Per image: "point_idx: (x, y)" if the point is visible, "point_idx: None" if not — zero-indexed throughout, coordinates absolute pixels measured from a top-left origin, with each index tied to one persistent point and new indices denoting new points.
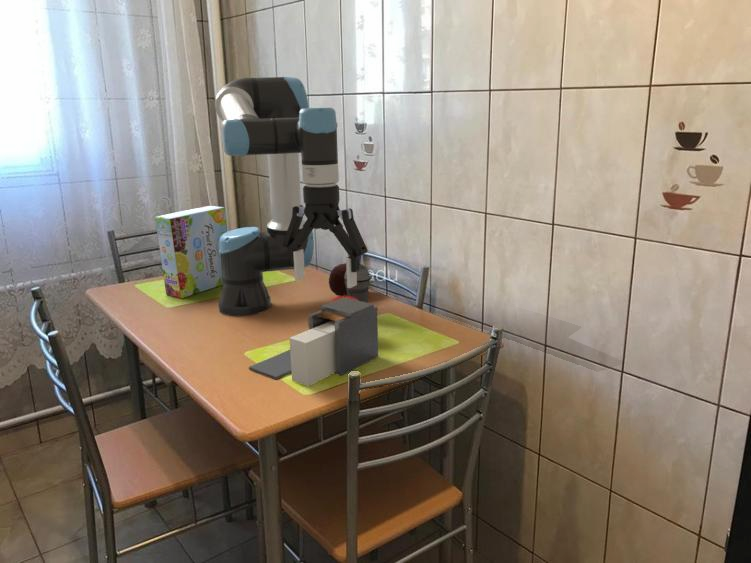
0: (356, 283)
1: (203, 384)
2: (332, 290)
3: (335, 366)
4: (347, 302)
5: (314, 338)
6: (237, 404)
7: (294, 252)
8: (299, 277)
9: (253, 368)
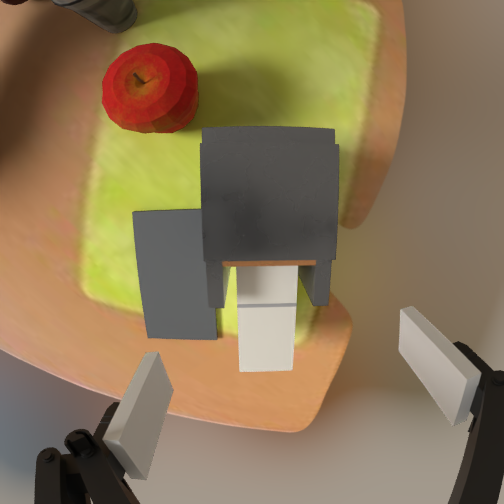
0: (415, 311)
1: None
2: (18, 3)
3: None
4: (252, 180)
5: (290, 345)
6: (240, 408)
7: (138, 476)
8: (167, 387)
9: (158, 337)
